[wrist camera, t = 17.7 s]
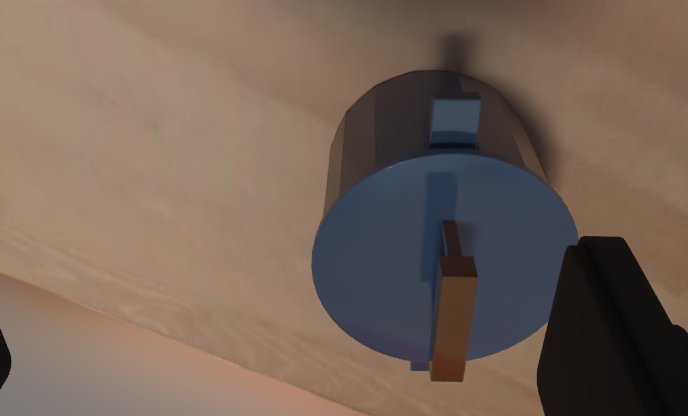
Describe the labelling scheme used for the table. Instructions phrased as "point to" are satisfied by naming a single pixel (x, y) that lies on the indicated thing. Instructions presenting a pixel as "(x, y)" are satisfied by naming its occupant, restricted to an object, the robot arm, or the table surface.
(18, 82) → the table surface
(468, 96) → the crock
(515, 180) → the lid
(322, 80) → the table surface
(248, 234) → the table surface
